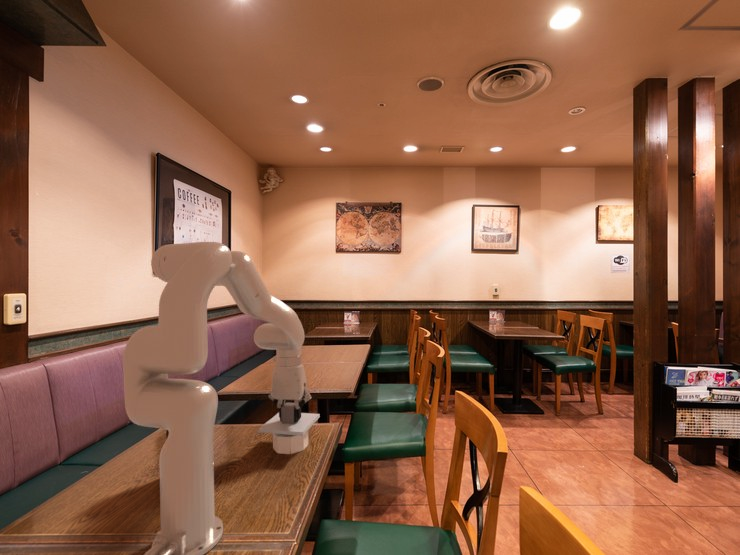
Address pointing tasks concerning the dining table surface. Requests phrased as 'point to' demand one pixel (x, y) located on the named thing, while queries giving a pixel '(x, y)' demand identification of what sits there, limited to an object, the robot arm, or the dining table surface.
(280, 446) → the bowl
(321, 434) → the dining table surface
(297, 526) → the dining table surface
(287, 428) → the lid
